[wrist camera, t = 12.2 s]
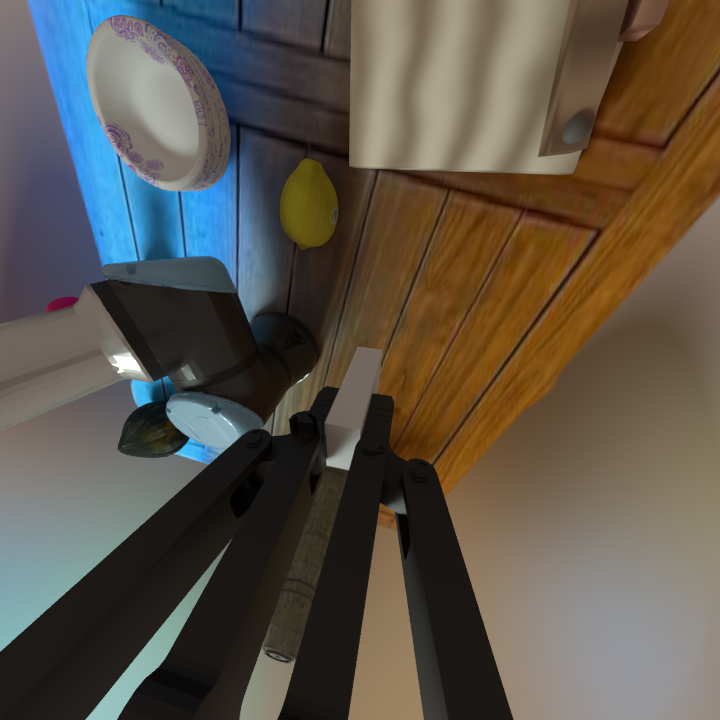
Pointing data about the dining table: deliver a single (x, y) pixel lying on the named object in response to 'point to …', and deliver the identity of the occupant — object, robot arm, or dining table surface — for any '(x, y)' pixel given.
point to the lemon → (309, 205)
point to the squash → (151, 433)
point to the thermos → (305, 570)
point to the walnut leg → (581, 74)
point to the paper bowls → (157, 105)
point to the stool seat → (462, 82)
